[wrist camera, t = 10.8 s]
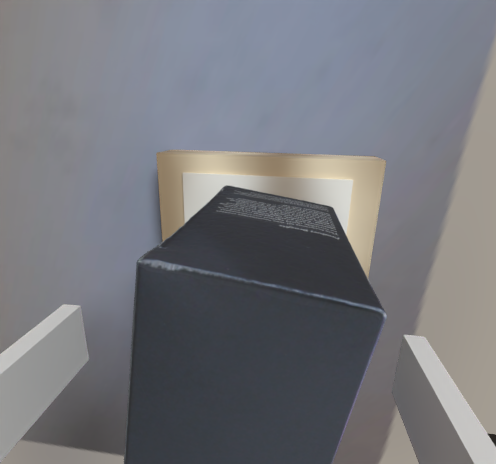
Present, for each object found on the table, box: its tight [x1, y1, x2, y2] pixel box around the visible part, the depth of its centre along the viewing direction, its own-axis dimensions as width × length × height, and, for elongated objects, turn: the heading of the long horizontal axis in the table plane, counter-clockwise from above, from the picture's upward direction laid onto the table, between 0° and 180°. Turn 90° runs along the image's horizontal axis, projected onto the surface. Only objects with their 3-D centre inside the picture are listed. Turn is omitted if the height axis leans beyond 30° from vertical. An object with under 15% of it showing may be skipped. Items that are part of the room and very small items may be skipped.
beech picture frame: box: [157, 150, 386, 278], centre depth 20 cm, size 12×14×3 cm
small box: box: [124, 185, 387, 464], centre depth 14 cm, size 11×6×10 cm, turn 170°
